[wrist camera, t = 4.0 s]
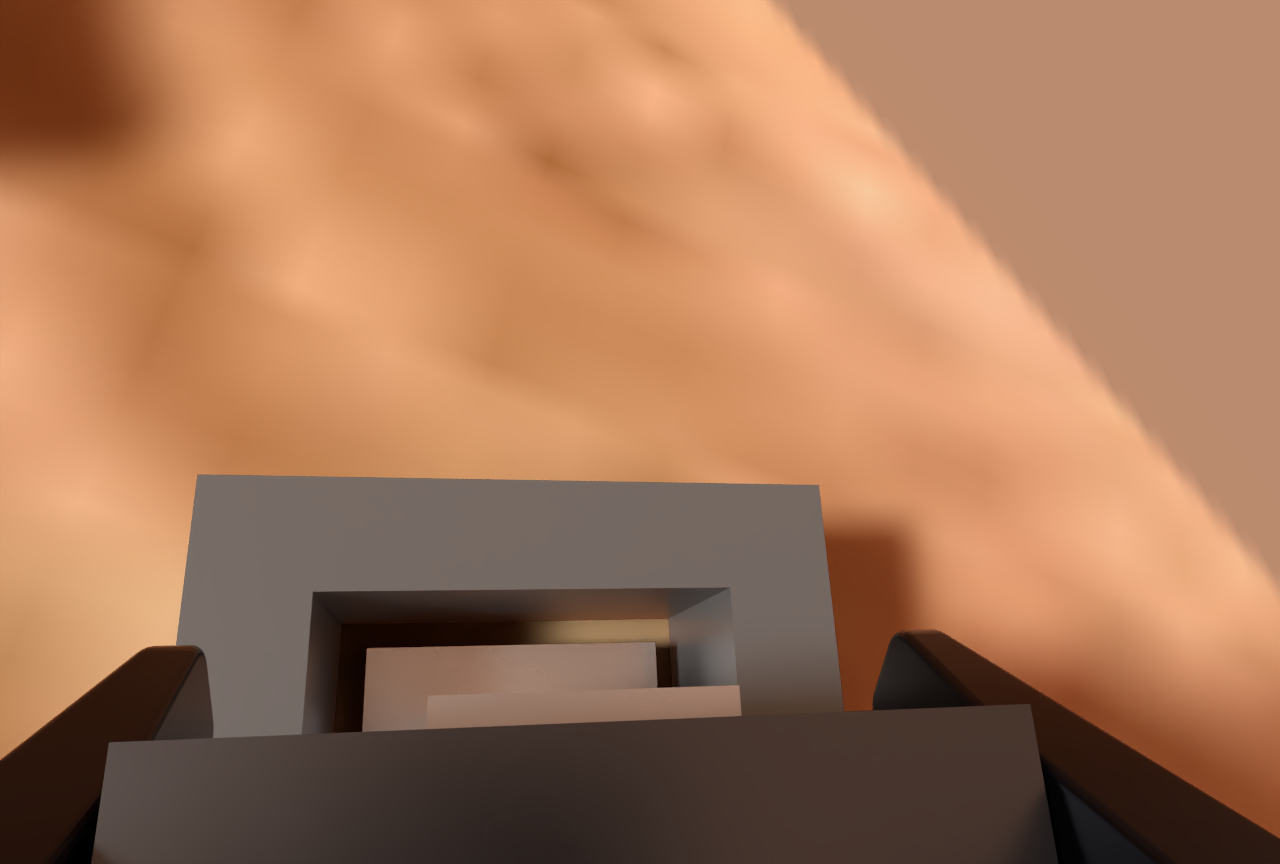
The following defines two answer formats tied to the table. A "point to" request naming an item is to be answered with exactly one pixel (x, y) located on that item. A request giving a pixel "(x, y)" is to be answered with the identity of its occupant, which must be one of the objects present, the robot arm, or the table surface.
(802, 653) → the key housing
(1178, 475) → the table surface
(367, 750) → the t key
